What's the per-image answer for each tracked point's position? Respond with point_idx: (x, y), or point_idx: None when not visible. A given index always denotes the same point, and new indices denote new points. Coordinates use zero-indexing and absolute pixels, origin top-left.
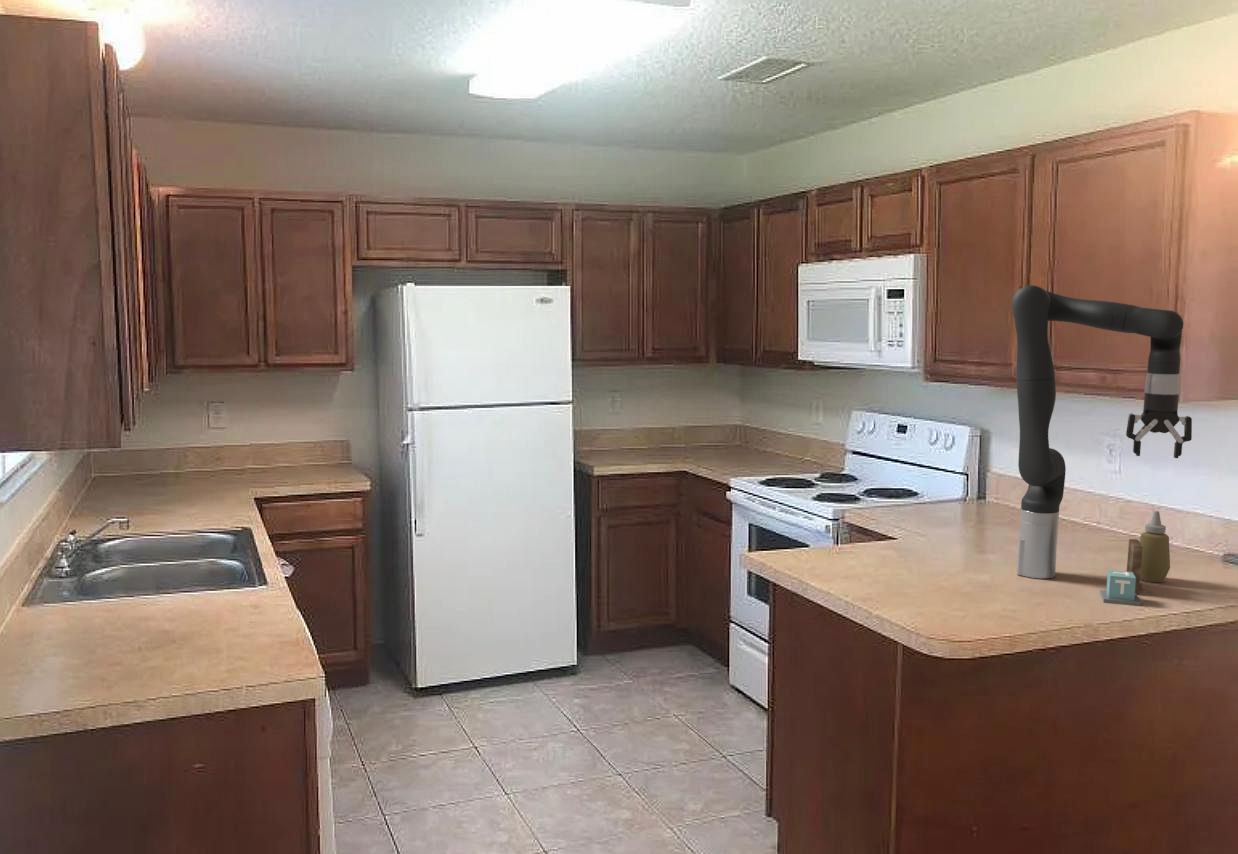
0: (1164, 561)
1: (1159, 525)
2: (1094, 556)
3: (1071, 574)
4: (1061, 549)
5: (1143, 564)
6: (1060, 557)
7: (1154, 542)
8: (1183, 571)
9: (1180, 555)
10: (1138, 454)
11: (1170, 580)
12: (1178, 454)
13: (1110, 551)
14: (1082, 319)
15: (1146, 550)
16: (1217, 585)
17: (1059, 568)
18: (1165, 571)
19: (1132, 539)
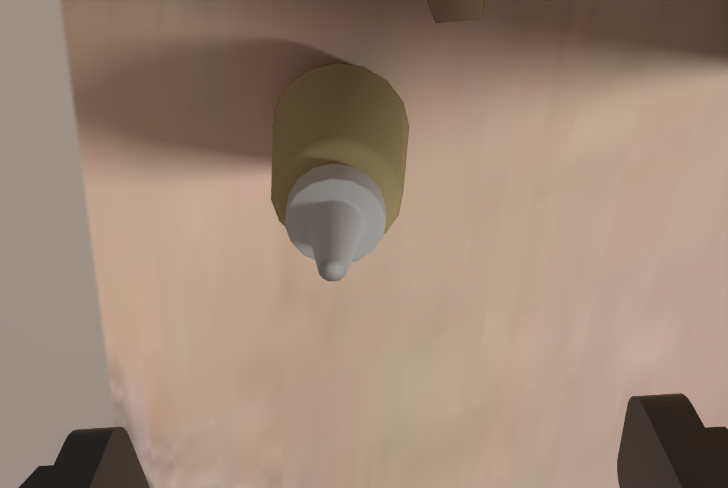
0: (294, 97)
1: (316, 208)
2: (509, 348)
3: (649, 58)
4: (604, 390)
5: (380, 84)
6: (632, 294)
7: (340, 123)
8: (233, 275)
9: (246, 448)
10: (667, 402)
11: None
12: (53, 469)
13: (449, 420)
14: None
15: (373, 112)
16: (111, 131)
17: (676, 136)
18: (291, 83)
19: (465, 13)
